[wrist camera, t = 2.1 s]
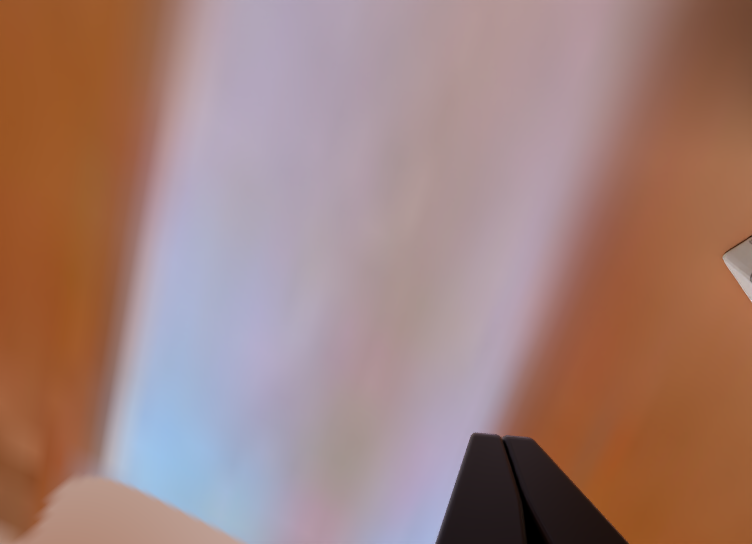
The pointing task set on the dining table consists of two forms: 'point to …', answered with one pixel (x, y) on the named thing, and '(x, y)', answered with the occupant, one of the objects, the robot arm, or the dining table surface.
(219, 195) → the dining table surface
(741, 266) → the coffee box
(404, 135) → the dining table surface
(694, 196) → the dining table surface
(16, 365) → the dining table surface
